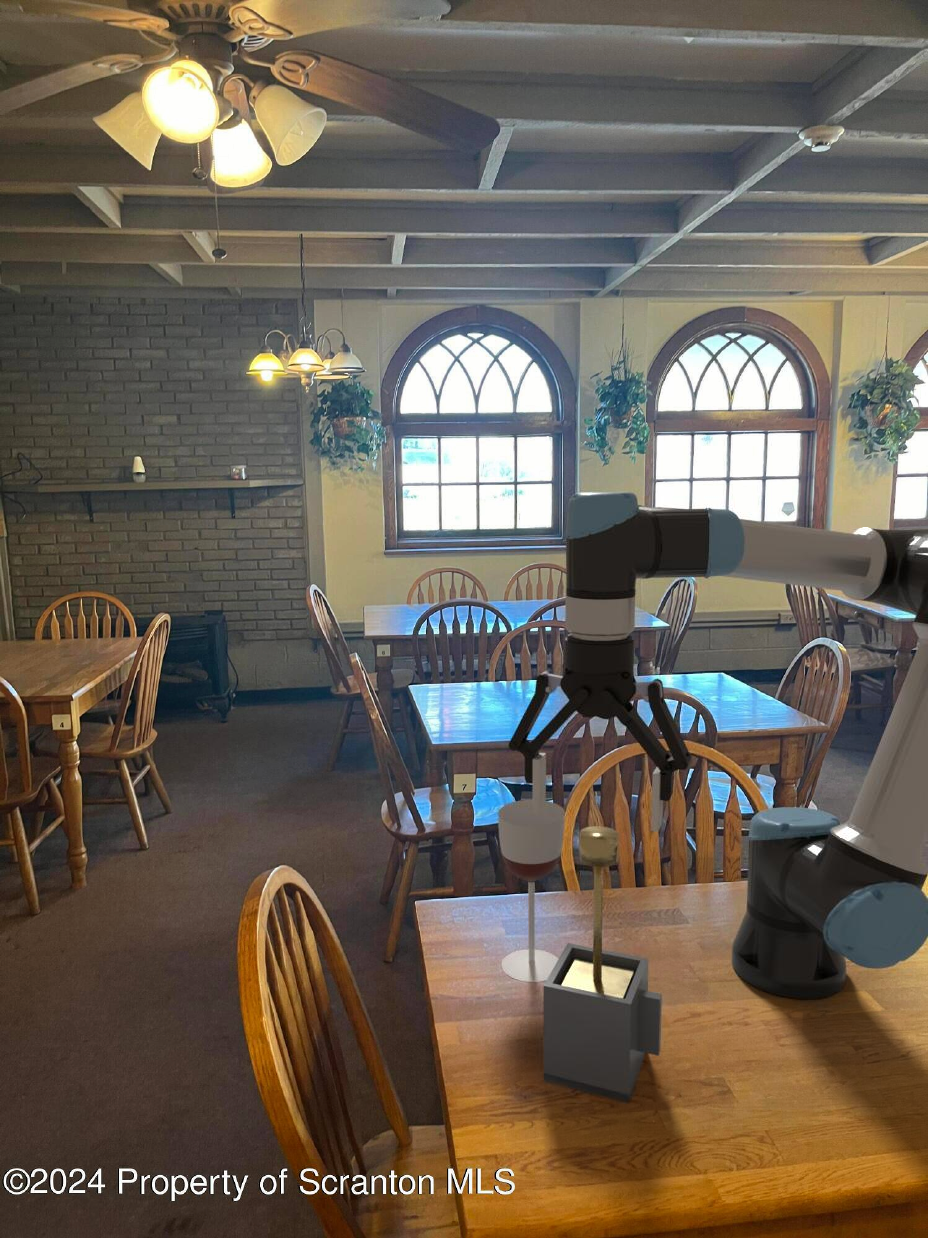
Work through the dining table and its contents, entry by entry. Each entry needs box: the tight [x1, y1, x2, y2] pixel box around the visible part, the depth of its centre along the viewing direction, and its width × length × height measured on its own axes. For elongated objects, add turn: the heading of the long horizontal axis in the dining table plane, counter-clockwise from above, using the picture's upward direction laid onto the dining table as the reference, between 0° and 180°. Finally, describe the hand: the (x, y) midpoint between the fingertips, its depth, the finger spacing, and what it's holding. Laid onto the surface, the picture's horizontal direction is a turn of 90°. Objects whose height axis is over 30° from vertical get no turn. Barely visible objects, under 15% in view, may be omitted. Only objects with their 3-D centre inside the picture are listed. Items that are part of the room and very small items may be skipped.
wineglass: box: [497, 799, 566, 983], centre depth 125 cm, size 9×10×23 cm
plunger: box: [562, 825, 634, 999], centre depth 102 cm, size 7×7×19 cm
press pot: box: [542, 942, 663, 1104], centre depth 104 cm, size 12×10×12 cm
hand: (596, 818), depth 100 cm, fingers open, 13 cm apart
